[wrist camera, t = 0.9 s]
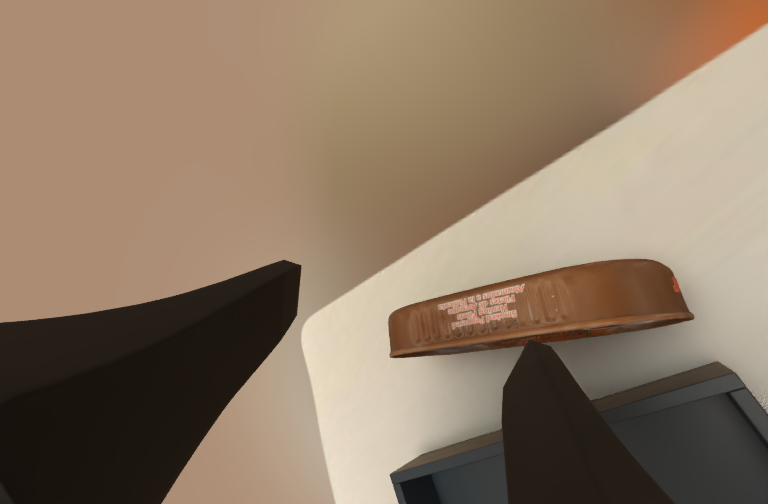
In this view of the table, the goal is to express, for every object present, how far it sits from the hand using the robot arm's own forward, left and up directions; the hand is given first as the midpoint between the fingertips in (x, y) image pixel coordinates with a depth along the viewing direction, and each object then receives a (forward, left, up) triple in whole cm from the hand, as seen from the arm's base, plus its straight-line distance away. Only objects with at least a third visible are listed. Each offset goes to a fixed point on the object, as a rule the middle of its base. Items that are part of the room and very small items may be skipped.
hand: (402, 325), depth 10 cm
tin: (0, 0, -15) cm, 15 cm away
